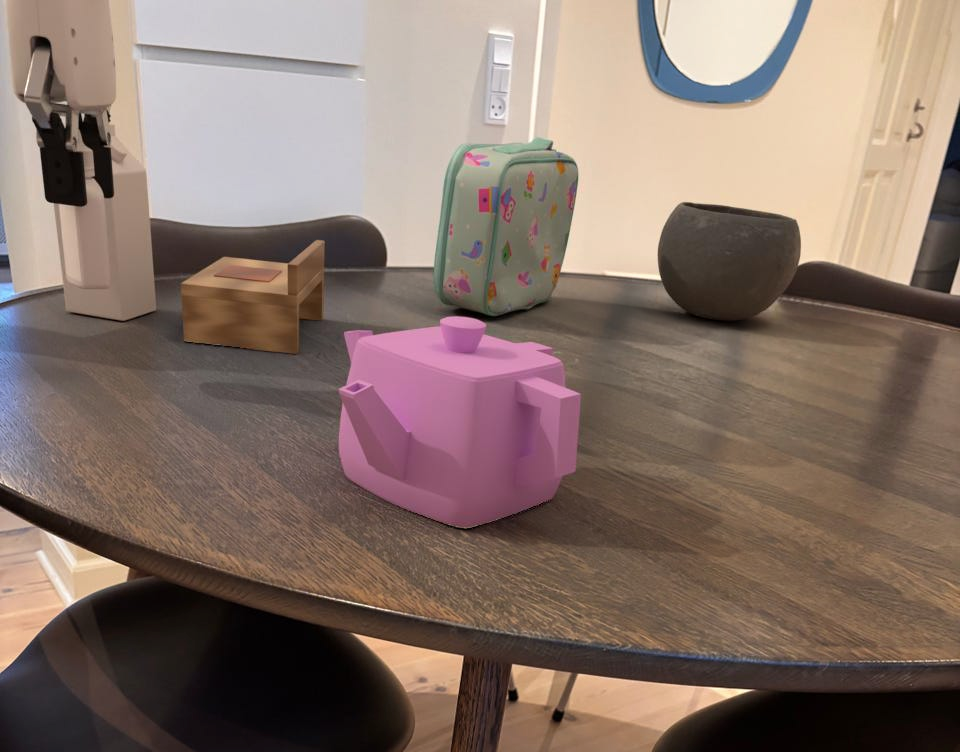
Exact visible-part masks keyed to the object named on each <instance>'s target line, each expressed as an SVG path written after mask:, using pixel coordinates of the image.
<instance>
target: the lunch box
mask: <svg viewBox="0 0 960 752" xmlns="http://www.w3.org/2000/svg"><path fill="white" fill-rule="evenodd" d="M553 145H554V140H550V139H545V138H541V137H539V136H535V137H534V138H533V139H532V140H531V141H530V142H527V143H523V142H509V143H473V142H467V143H461V144H459V145H458V146H457V147H456V149H455V151H454V152H453V154H452V156H451V157H450V159H449V162H448V165H447V167H446V171H445V175H444V176H445V177H444V180H443V187H442V198H441V205H440V213H439V214H440V215H439V223H438V230H437V235H436V236H437V237H436V245H435V254H434V261H433V262H434V263H433V285H434V291H435V294H436V297H437V298H438V300H439V301H440V302H441V303H442V304H444V305H446V306H453V307H457V308H460V309H463V310H467V311H472V312H475V313H476V312H477V313H481V314H484V315H486V316H490V317H497V316H500V315H501V316H502V315H504V314H507V313H510V312H515V311H519V310H525V311H527V310H530V309H532V308H533V307H535V306H537V305H538V304H541V303H546V302H547V301H548V300H549V299H551V297H552V294H553V292H554V291H555V290H556V287H557V286H558V282H559V278H560V275H561V271H562V268H563V263H564V260H565V256H566V252H567V248H568V247H567V246H568V244H569V243H568V242H569V238H570V233H571V227H572V222H573V217H574V211H575V205H576V200H577V192H578V186H579V168H578V164H577V162H576V160H575V159H574V158H573V157H572V156H571V155H569V154H567V153H564V152H561V151H557V149H556V148H553Z"/></svg>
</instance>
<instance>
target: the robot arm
mask: <svg viewBox="0 0 960 752" xmlns="http://www.w3.org/2000/svg"><path fill="white" fill-rule="evenodd" d="M5 9H6V10H5V11H6V27H7V41H8V43H7V44H8V55H9V64H10V76H11V85H12V92H13V93H14V95H15V97H16V98H17V99H18V100H19V101H20V102H21V103H24V104H25V106H26V108H27V110H28V112H29V113H30V115H31V121H32V123H33V125H34V127H35V130H36V132H35V133H36V134H35V135H36V136H35V139H36V140H35V141H36V144H37V146H38V148H39V155H40V165H41V174H42V182H43V183H42V184H43V192H44V199H45V200H46V202H48V203H50V204H54V203H55V204H63V205H70V206H78V207H83V206H86V205H87V193H86V181H85V170H84V158H83V152H78V151H77V148H78V130H80V133H81V137H82V141H83V143H84V145H85V146H86V147H88V148H90V149H91V150H92V151H93V161H94V173H95V176H92V178H94V179H95V181H96V182H97V183H98V184H99V186H100V188H101V189H102V192H103V195H104V198H107V199H109V198H112V197H113V196H114V184H113V171H112V157H111V147H110V146H111V133H110V128H109V125H110V123H111V121H112V120H111V117H112V115H111V108H112V106H113V104H114V103H115V101H116V98H117V73H116V72H117V71H116V69H117V68H116V58H115V57H116V56H115V46H114V36H113V27H112V18H111V10H110V2H109V0H5ZM63 102H65V103H63ZM82 115H83V116H82ZM61 117H65V122H63V120H62V118H61ZM64 123H65V124H64ZM104 146H108V147H104Z"/></svg>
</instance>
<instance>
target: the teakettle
mask: <svg viewBox="0 0 960 752" xmlns="http://www.w3.org/2000/svg"><path fill="white" fill-rule="evenodd" d="M439 324H440V325H439V326H431V327H430V326H429V327H421V328H420V327H419V328H413V329H405V330H399V331H391V332H385V333H377V334H374V331H373V330H360V329H359V330H358V329H357V330H349V331H344V332H343V335H344V341H345V345H346V348H347V352H348V356H349V360H350V368H349V372H348V377H347V379H346V385H345V386H342V387H340V388H338V394H339V397H340V399H341V401H342V406H341V412H340V421H339V432H338V452H339V458H340V463H341V467H342V469H343V472H344V475H345V477H346V478H347V479H348V480H350V482H352V483H354V484H355V485H357V486H359V487H361V488H362V489H364V490H366V491H368V492H369V493H371V494H373V495H374V496H377V497H378V498H380V499H382V500H383V501H385V502H388V503H390V504H391V505H394V506H396V507H398V506H399V508H401V509H404V510H405V509H406V510H405V511H408V512H410V511H411V512H410V513H413V512H414V513H413V514H415V513H417V514H416V515H418V514H419V515H418V516H420V515H423V516H425V517H427V518H426V519H428V518H431V519H434V520H437V521H441V522H443V523H446V524H451V525H454V526H460V527H471V526H475V525H480V524H483V523H487V522H490V521H493V520H496V519H499V518H502V517H505V516H509V515H511V514H515V513H517V512H520V511H522V510H525V509H528V508H530V507H533V506H536V505H538V506H540V505H539V504H541V503H543V502H545V503H547V502H549V501H551V500H552V499H553V498H554V496H555V494H556V492H557V490H558V488H559V486H560V483H561V481H562V478H563V476H566V475H570V474H573V473H575V472H576V469H577V455H578V453H577V452H578V443H579V442H578V440H579V430H580V429H579V427H580V416H581V415H580V413H581V401H582V400H581V399H582V394H581V393H579V392H578V391H574V390H572V389H570V388H567V387H566V376H565V366H564V363H563V362H562V360H561V359H559V358H557V357H555V356H554V347H550V346H547V345H544V344H541V343H537V342H535V341H527V342H526V341H524V342H515V343H514V342H511V341H509V340H505V339H501V338H498V337H495V336H491V335H488V334H485V332H486V329H487V324H486V323H485V322H484V321H482V320H480V319H477V318H474V317H468V316H458V315H457V316H446V317H444V318H443V317H442V318H441V319H440V320H439ZM551 498H552V499H551ZM550 499H551V500H550ZM548 500H549V501H548ZM546 501H547V502H546ZM543 504H544V503H543ZM541 505H542V504H541ZM536 507H537V506H536ZM533 508H534V507H533ZM528 510H529V509H528ZM520 513H521V512H520ZM515 515H516V514H515ZM423 516H422V517H423ZM425 517H424V518H425ZM431 519H430V520H431Z"/></svg>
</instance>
